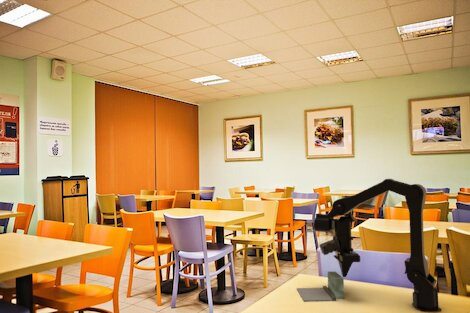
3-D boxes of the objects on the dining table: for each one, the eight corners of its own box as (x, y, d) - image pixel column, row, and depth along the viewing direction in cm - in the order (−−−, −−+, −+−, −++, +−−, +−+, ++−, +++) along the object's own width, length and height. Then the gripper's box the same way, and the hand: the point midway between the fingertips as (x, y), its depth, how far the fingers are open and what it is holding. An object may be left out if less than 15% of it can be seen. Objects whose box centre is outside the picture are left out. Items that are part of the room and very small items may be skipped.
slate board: (326, 288, 140) (325, 285, 140) (336, 300, 126) (336, 297, 126) (296, 289, 140) (296, 286, 140) (303, 301, 126) (303, 298, 126)
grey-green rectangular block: (336, 290, 138) (335, 271, 139) (344, 299, 128) (343, 278, 129) (328, 290, 138) (327, 271, 139) (335, 299, 128) (335, 278, 129)
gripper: (315, 230, 144) (316, 270, 143) (327, 237, 125) (328, 284, 124) (343, 229, 144) (345, 270, 143) (360, 237, 125) (361, 284, 125)
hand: (344, 276), depth 134 cm, fingers closed
